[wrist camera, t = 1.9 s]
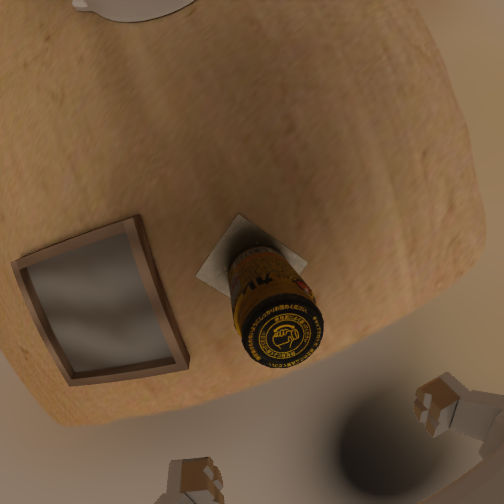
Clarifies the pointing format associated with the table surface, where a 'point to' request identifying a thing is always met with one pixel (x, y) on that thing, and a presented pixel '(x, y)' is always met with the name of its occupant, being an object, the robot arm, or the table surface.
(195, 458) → the robot arm
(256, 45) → the table surface
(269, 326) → the condiment
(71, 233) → the table surface
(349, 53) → the table surface
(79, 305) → the square wooden tray
